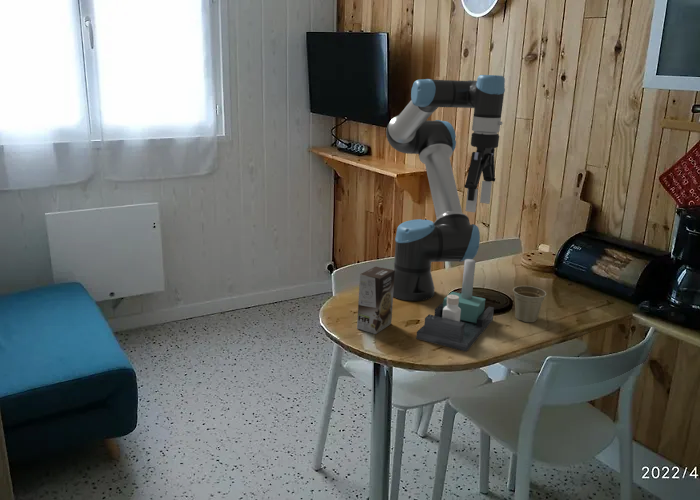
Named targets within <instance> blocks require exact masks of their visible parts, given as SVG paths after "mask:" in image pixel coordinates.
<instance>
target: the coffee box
mask: <svg viewBox="0 0 700 500" xmlns="http://www.w3.org/2000/svg"><path fill="white" fill-rule="evenodd" d="M394 275H395V270H394V269H390V268H387V267H380V266H373V267H372V268H370V269H367V270H365V271H363V272H362V273H359V285H358V286H359V288H358V303H357V304H358V305H357V306H358V307H357V319H356V320H357V322H356V329H357V330H362V331H364V332H366V333H367V332H368V333H371V334H373V335H377V334H379V333H380V332H381V331H383V330H384V329H386V328H387V327H388V326H390V325H391V324H392V322H393V321H392V318H393V306H394V305H393V304H394V303H393V301H394V297H393V290H394Z"/></svg>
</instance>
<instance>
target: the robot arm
mask: <svg viewBox="0 0 700 500" xmlns="http://www.w3.org/2000/svg"><path fill="white" fill-rule="evenodd" d="M505 82H506V79H505V76H503V75H494V74H493V75H492V74H480V75H478V77H477V79H476V80H470V79H469V80H455V79H453V80H451V79H448V80H447V79H431V78H425V79H424V78H422V79H417V80H415V81H414V82H413V84H412V87H411V92H410V93H411V94H410V98H411V100H410V101H409V102H408V103H407V105H406V106H405V107H404V109H403V110H402V111H401V112H400V113H399V114H398V115H396V116H394V117H393V118H391V120H390V121H389V123H387V127H386V128H385V129H386V130H385V135H386V139H387V142H388V143H389V145H390V146H391V147H392V148H393V149H395V150H396V151H397V152H399V153H402V154H411V155H412V154H413V155H418V159H419V161H420V163H422V164H424V165H425V170H426V174H427V179H428V184H429V190H430V195H431V199H432V204H433V208H434V214H435V217H436V219H435V221H432V220H431V219H420V218H419V219H410V220H406V221H403V222H402V223H400V224H399V225H398V226H397V228H396V233H395V234H396V235H395V238H394V239H395V240H394V241H395V244H394V245H395V248H394V249H395V250H394V263H393V270H395V275H394V290H393V298H395V299H398V300H402V301H410V302H422V301H426V300H429V299H431V298H433V297H434V296H435V285H434V280H433V277H432V272H431V271H432V270H431V269H432V263H436V262H437V263H439V262H440V263H442V262H443V263H444V262H465V260H466V259H472V260H474V259H475V257H476V256H477V254H478V251H479V247H480V241H481V236H480V235H481V234H480V229H479V226H478V225H476V224H473V223H471V222H470V218H469V216H468V215H466V214H465V213H463V209H462V205H461V201H460V197H459V192H458V188H457V183H456V179H455V175H454V172H453V167H452V163H451V162H452V161H451V159H450V158H451V157H452V156H453V154H454V151H455V149H456V145H457V140H456V138H457V135H456V130H455V129H454V126H453V125H452V124H451V123H450V122H449V121H445V120H440V119H436V120H428V119H429V118H430V117H431V116H432V114H433V113H434V112H435V111H436V110H437V109H438V108H464V109H466V108H468V109H473V117H472V126H471V130H472V131H473V132H472V133H471V138H470V139H471V140H470V146H471V147H473V148H476V151H472V152H471V157H470V158H471V159H470V164H469V166H468V167H469V168H468V172H467V177H466V181H465V184H464V189H467V192H466V202H465V203H466V204H465V209H464V210H465V212H470V213H476V212H477V211H476V210H477V200H478V192H479V189H478V185H479V182H480V179H481V176H482V177H483V180H482V181H481V190H480V199H479V203H481V204H489V205H490V203H491V195H492V186H493V182H496V178H495V177H496V176H495V175H496V173H495V169H496V168H495V150H496V148H498V147H499V141H500V135H499V134H498V133H500V130H501V126H502V125H503V121H501V120H502V115H503V114H502V113H503V105H504V96H505V92H506V88H505V87H506V85H505Z"/></svg>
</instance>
